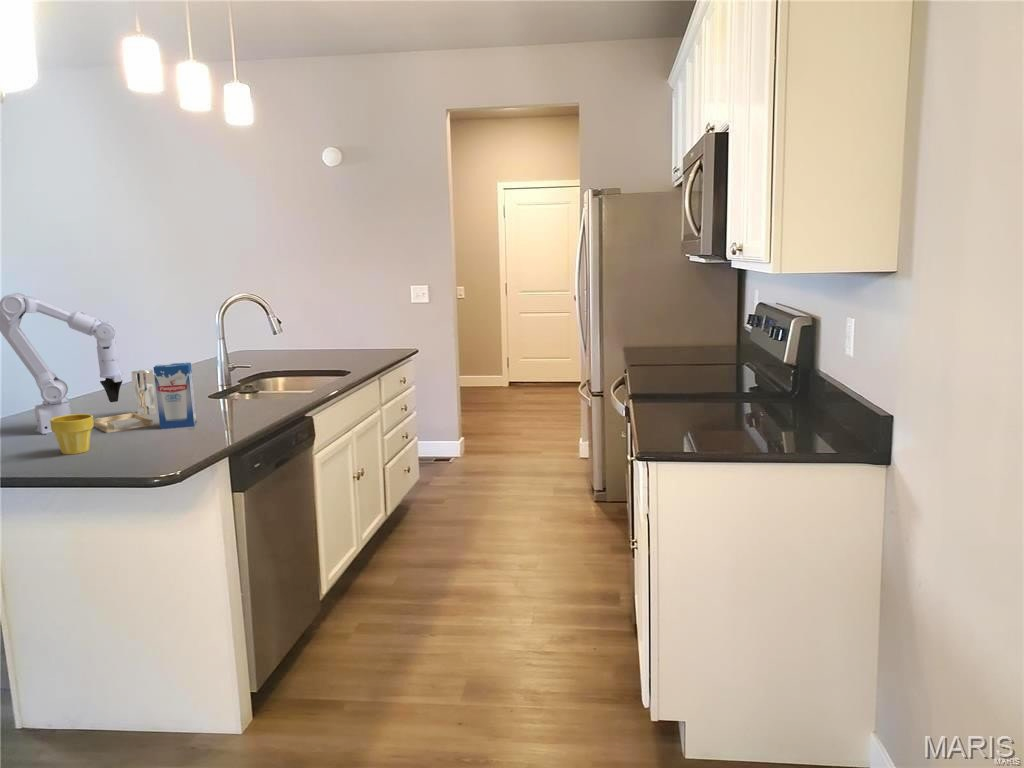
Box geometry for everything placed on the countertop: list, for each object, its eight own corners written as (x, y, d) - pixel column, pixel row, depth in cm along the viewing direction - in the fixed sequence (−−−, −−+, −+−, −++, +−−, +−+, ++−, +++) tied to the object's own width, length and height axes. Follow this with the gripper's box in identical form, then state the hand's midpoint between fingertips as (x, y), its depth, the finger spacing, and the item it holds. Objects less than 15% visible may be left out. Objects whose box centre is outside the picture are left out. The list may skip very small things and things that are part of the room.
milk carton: (160, 431, 233) (153, 367, 229) (163, 426, 239) (156, 364, 235) (194, 428, 236) (188, 365, 232) (197, 423, 242) (191, 362, 238)
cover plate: (114, 430, 233) (114, 425, 233) (107, 426, 238) (107, 422, 238) (141, 425, 238) (141, 420, 238) (134, 422, 243) (133, 417, 243)
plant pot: (104, 445, 216) (99, 412, 215) (85, 455, 206) (80, 420, 205) (67, 447, 216) (62, 413, 214) (46, 457, 206) (41, 422, 204)
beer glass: (134, 417, 253) (129, 373, 251) (136, 413, 260) (131, 370, 257) (157, 415, 256) (152, 371, 253) (158, 411, 262) (154, 369, 260)
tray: (107, 434, 230) (106, 427, 230) (90, 426, 242) (89, 419, 241) (153, 426, 239) (152, 419, 239) (135, 419, 251) (134, 412, 251)
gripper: (129, 360, 238) (134, 402, 241) (114, 356, 249) (119, 396, 251) (105, 363, 233) (110, 406, 236) (91, 359, 244) (96, 400, 246)
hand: (113, 401), depth 243 cm, fingers closed
